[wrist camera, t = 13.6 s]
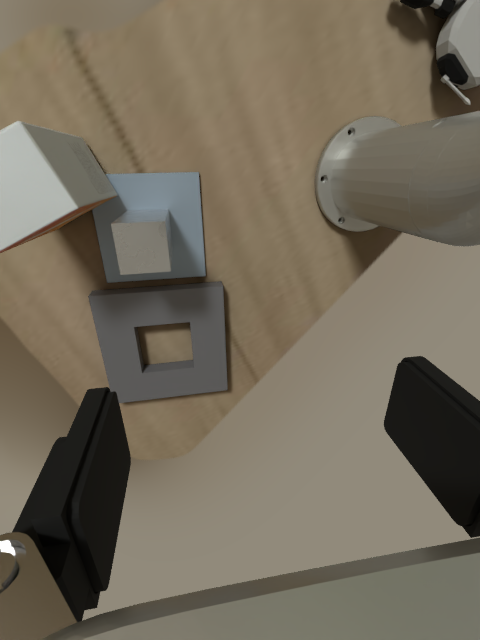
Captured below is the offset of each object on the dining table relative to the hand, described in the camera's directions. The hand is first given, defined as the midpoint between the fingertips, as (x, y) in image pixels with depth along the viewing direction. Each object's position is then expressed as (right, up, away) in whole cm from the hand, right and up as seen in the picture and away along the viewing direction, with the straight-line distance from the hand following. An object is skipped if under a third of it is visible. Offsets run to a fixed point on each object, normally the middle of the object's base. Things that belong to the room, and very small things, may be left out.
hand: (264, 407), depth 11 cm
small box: (-19, +17, +24) cm, 35 cm away
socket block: (-11, 0, +34) cm, 35 cm away
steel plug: (-11, +13, +27) cm, 32 cm away
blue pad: (-11, +14, +27) cm, 32 cm away
